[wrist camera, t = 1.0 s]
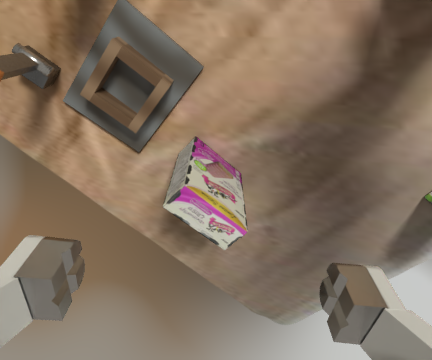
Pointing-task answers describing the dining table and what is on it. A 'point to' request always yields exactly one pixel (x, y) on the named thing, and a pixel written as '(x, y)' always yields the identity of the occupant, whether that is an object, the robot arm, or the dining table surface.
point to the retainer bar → (16, 65)
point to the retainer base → (45, 70)
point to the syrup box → (429, 197)
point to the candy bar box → (207, 194)
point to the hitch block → (131, 77)
